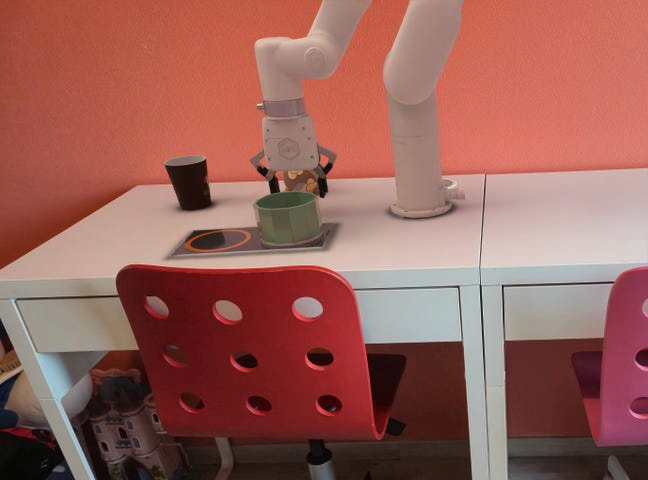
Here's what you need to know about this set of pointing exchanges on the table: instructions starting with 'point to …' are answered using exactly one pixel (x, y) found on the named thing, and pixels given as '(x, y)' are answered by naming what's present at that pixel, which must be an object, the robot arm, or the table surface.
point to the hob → (235, 241)
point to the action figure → (301, 179)
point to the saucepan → (288, 217)
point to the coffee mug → (190, 181)
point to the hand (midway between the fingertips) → (300, 197)
